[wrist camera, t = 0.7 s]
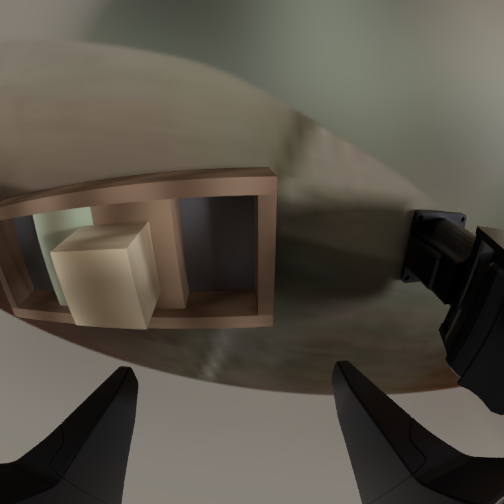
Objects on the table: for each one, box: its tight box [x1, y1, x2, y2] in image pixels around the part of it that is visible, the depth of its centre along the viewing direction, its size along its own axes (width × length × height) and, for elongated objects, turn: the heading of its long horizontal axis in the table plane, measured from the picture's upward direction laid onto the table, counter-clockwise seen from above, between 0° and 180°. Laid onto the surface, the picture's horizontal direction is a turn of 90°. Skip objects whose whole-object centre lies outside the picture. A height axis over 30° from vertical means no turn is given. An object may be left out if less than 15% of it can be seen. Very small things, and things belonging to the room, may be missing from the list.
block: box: [50, 221, 161, 329], centre depth 15 cm, size 5×5×4 cm
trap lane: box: [0, 167, 277, 329], centre depth 17 cm, size 23×10×4 cm, turn 91°
